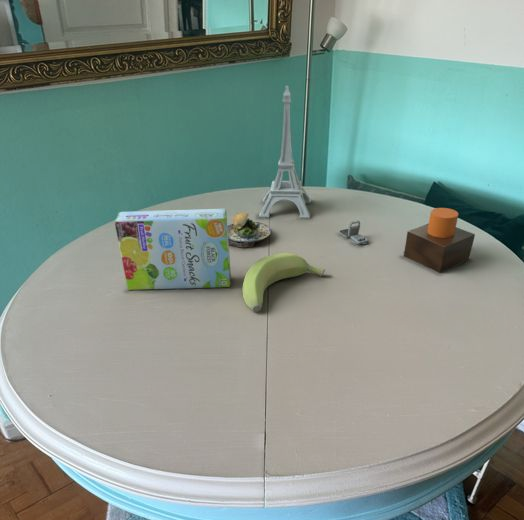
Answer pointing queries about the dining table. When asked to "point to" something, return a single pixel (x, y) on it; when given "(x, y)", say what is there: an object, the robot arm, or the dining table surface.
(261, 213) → the eiffel tower
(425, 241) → the walnut block
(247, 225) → the burger
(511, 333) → the dining table surface
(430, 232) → the orange puck
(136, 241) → the snack box
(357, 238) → the strap clip
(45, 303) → the dining table surface
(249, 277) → the banana
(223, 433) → the dining table surface
